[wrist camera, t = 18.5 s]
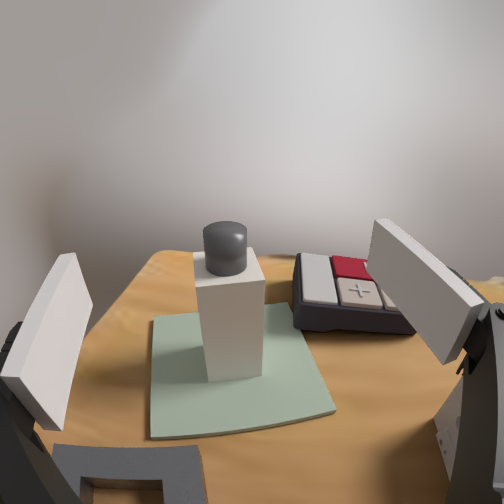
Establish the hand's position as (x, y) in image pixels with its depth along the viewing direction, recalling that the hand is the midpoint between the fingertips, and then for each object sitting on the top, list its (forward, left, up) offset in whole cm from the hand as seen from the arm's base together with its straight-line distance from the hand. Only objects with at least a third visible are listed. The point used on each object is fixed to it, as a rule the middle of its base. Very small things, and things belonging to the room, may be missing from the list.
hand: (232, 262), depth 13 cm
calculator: (-17, -16, -18) cm, 29 cm away
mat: (-1, -10, -18) cm, 20 cm away
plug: (-1, -10, -17) cm, 20 cm away
